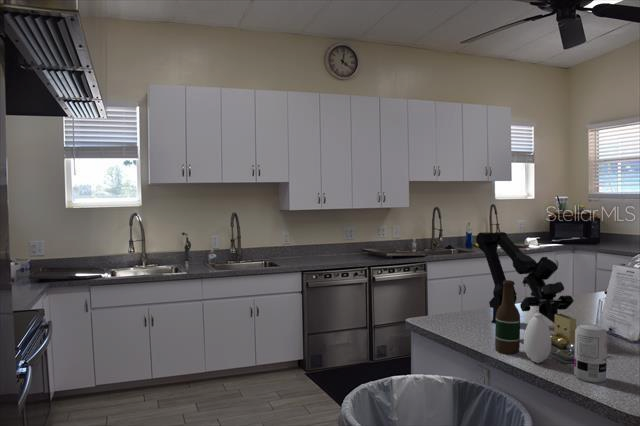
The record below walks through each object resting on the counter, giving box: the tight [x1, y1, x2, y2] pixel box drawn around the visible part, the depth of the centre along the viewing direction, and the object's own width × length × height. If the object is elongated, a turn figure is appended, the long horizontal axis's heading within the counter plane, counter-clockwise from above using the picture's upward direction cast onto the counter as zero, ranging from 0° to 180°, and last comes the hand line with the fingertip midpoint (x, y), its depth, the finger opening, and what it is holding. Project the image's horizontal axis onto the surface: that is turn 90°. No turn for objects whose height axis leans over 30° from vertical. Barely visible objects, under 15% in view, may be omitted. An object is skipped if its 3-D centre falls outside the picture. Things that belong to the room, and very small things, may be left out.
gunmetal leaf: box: [551, 342, 575, 361], centre depth 165 cm, size 7×9×4 cm
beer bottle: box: [494, 279, 521, 355], centre depth 171 cm, size 8×8×24 cm
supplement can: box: [573, 323, 608, 384], centre depth 147 cm, size 8×8×15 cm
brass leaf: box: [550, 313, 577, 349], centre depth 176 cm, size 8×6×10 cm
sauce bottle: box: [523, 306, 551, 364], centre depth 161 cm, size 8×8×18 cm
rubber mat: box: [520, 338, 574, 365], centre depth 173 cm, size 26×15×1 cm, turn 11°
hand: (557, 323), depth 181 cm, fingers closed, pressing on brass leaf
